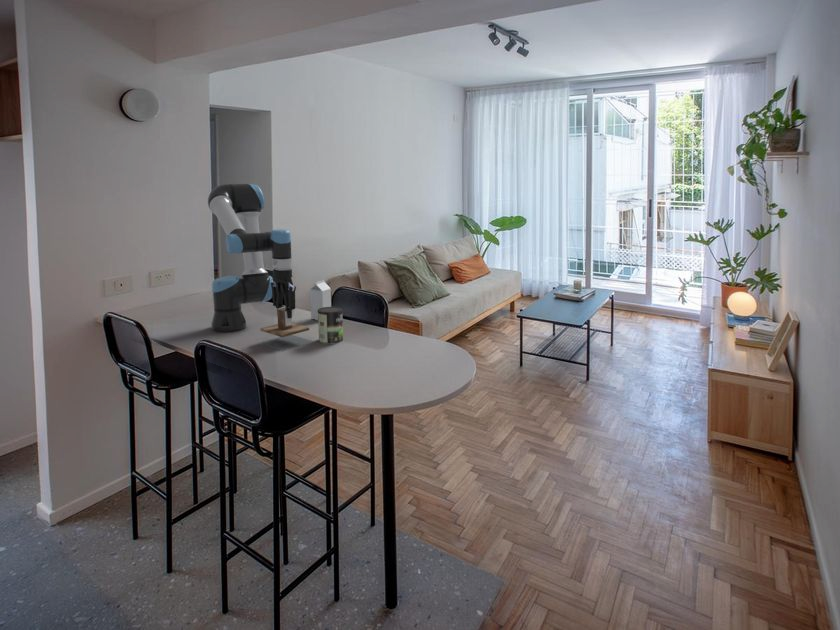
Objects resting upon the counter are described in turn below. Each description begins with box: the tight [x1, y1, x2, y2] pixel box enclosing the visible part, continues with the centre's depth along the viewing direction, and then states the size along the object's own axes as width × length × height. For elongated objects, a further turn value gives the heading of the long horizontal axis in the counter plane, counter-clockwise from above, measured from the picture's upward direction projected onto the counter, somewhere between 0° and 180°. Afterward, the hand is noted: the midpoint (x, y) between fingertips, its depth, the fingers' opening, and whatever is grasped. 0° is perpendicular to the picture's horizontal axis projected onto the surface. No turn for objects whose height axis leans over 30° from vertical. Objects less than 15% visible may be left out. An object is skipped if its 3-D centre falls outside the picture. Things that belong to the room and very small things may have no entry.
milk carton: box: [309, 279, 332, 321], centre depth 265 cm, size 7×7×19 cm
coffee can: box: [317, 306, 344, 345], centre depth 229 cm, size 10×10×14 cm
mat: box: [257, 334, 316, 352], centre depth 227 cm, size 17×17×1 cm
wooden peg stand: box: [260, 307, 310, 337], centre depth 225 cm, size 14×14×9 cm
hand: (284, 324), depth 226 cm, fingers closed on wooden peg stand, 4 cm apart
